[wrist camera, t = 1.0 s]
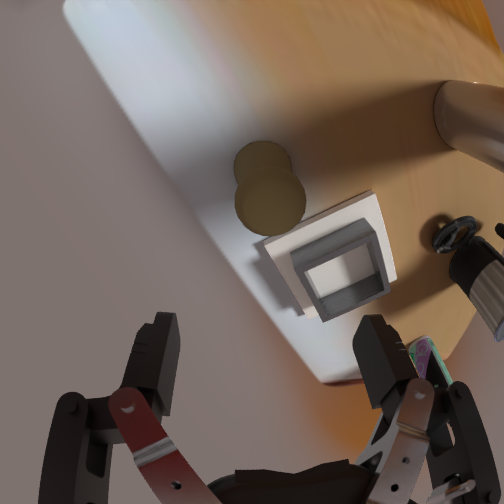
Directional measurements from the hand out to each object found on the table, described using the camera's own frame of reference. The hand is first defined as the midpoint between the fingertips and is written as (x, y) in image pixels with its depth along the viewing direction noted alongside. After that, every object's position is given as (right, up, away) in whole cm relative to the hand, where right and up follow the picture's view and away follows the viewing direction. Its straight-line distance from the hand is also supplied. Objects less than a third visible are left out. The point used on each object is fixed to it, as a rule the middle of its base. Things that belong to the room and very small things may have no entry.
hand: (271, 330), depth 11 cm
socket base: (+10, +2, +23) cm, 25 cm away
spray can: (+33, -16, +35) cm, 51 cm away
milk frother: (+32, +4, +23) cm, 39 cm away
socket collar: (+10, +2, +22) cm, 24 cm away
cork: (0, +12, +17) cm, 20 cm away
